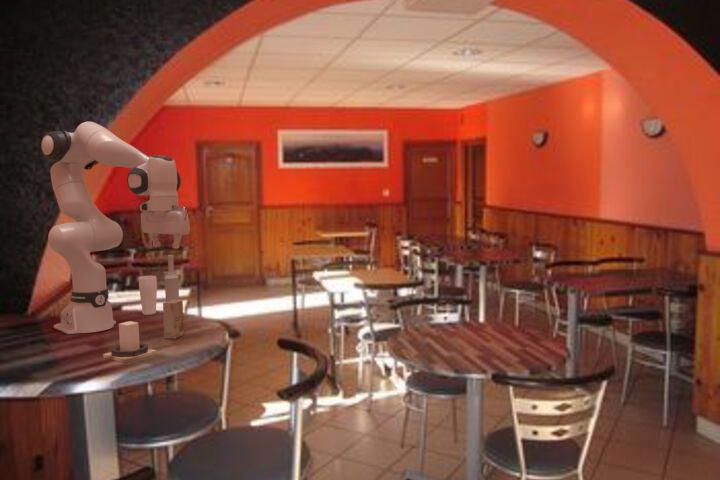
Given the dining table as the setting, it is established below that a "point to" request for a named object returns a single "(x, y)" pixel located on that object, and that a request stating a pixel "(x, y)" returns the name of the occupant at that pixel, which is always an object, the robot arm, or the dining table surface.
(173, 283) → the bottle
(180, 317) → the skincare box
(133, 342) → the carton
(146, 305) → the drinking glass
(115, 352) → the board
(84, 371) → the dining table surface
